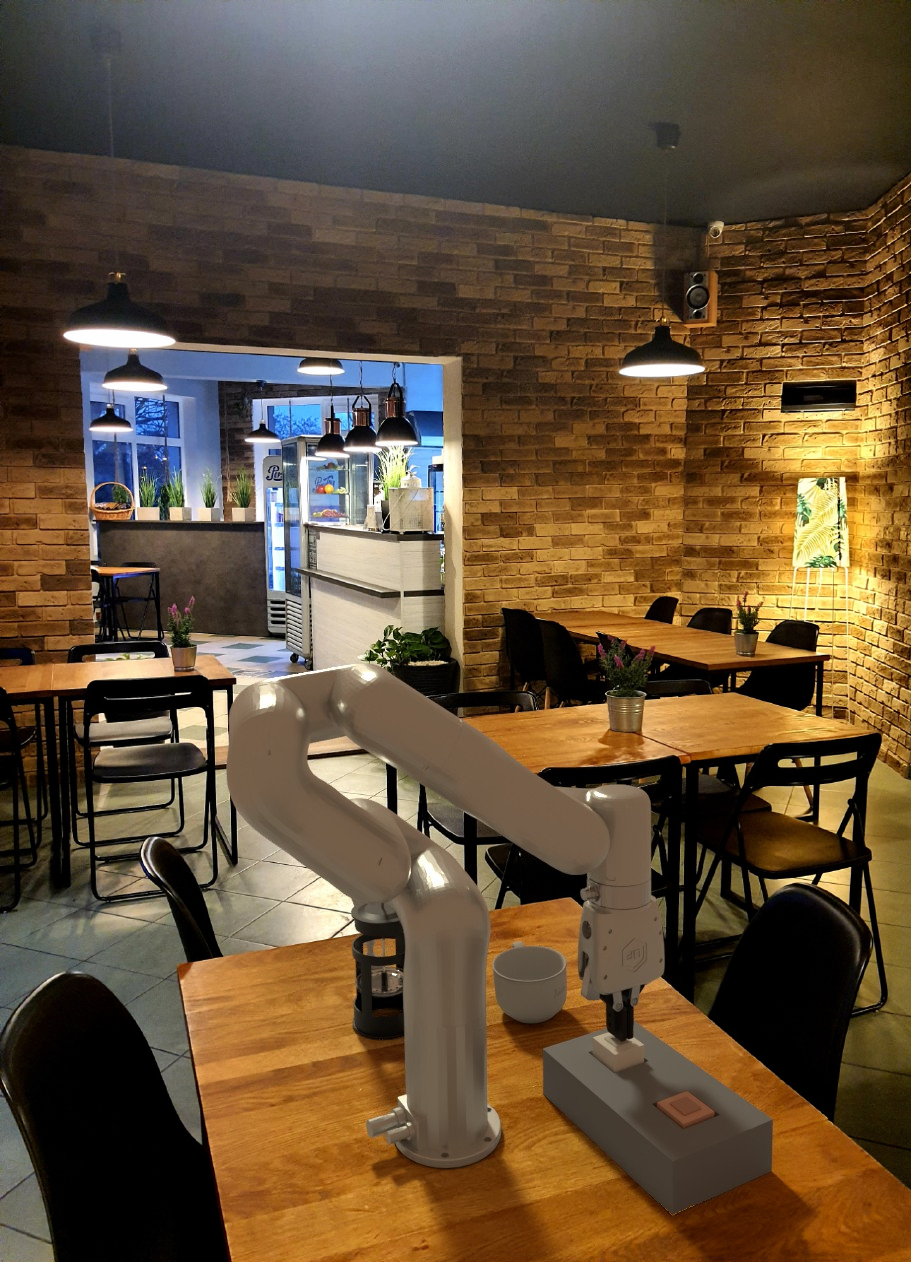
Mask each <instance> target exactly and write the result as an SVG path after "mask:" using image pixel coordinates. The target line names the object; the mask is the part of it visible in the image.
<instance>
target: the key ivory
mask: <svg viewBox="0 0 911 1262" xmlns="http://www.w3.org/2000/svg"><path fill="white" fill-rule="evenodd" d="M593 1057H595V1058H596V1059H597V1060H598V1061H600V1062H601V1063H602V1064H603V1065H604V1066H606V1067H607V1068H608V1069H609V1070H611V1071H612V1072H613V1073H616V1072H619V1071H622V1070H625V1069H628V1068H631V1067H634V1066H636V1065H639V1064H642V1063H644V1044H642V1043H641V1042H640V1041H638V1040H637V1039H636V1038H634V1037H633V1038H632V1039H626V1041H623V1042H621V1041H620V1040H618V1039H617V1038H616V1037H614V1036H613V1035H612V1034H610V1033H609V1032H608V1033H605V1034H602V1035H598V1036H595V1037H593Z"/></svg>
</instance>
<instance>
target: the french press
mask: <svg viewBox="0 0 911 1262" xmlns="http://www.w3.org/2000/svg"><path fill="white" fill-rule="evenodd" d="M350 916H351V918H352V919H354V929H355V930H356V932H358V933H360V934H361V935H359V936H357V937H356V938H354V939H353V940H352V943H351V956H352V957H353V959H354V960H355V971H356V975H355V980H354V985H355V991H356V993H355V995H356V996H355V998H354V1000H353V1018H352V1019H353V1020H352V1028H353V1030H354V1031H355V1033H356V1034H357V1035H359V1036H361V1037H363V1038H366V1039H368V1040H369V1039H370V1040H375V1041H390V1040H395V1039H396V1040H397V1039H400V1038H403V1037H404V1008H403V973H404V962H405V936H404V930H403V927H402V925H401V922H400V920H399V918H398V915H397V913H396V911H395V910H394V909H393V908H392V907H391V906H389V905H388V904H387V903H382V904H366V903H359V904H357V905H355V906H354V905H353V907H352V908H351V911H350ZM388 939H389V940H394V943H395V954H393V955H386V945H385V944H386V943H385V942H386V941H385V940H388ZM372 940H374V941H376V940H381V942H382V943H381V944H382V945H381V947H382V951H381V952H382V956H379V957H376V956H368V955H366V954H364V944H365V942H368V941H372ZM394 965H395V966H394ZM371 966H383V967H378V968H373V969H371ZM392 966H393V967H392ZM385 1009H386V1010H388V1009H389V1010H396V1011H400V1013H397V1014H392V1015H385V1016H383V1015H381V1016H380V1015H374V1011H378V1010H379V1011H380V1010H385Z"/></svg>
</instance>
